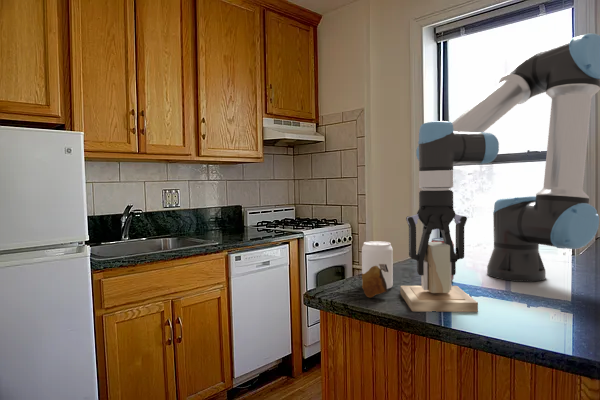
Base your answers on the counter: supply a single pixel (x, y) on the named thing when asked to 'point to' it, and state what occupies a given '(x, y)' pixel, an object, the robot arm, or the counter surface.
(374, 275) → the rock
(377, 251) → the beverage can
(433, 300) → the maple board
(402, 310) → the counter surface
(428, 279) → the box
